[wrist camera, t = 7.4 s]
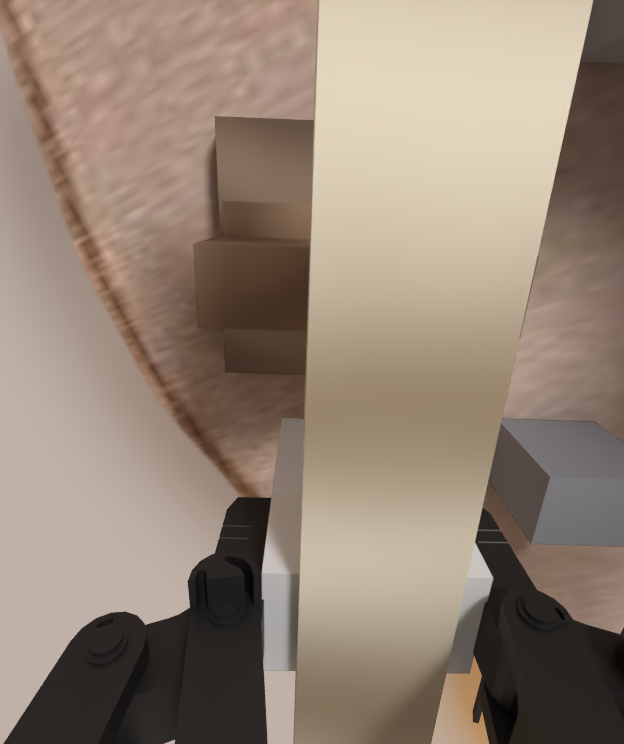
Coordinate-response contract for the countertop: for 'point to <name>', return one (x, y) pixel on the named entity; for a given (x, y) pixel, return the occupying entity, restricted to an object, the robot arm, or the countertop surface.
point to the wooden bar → (414, 330)
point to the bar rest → (567, 438)
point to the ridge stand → (260, 245)
